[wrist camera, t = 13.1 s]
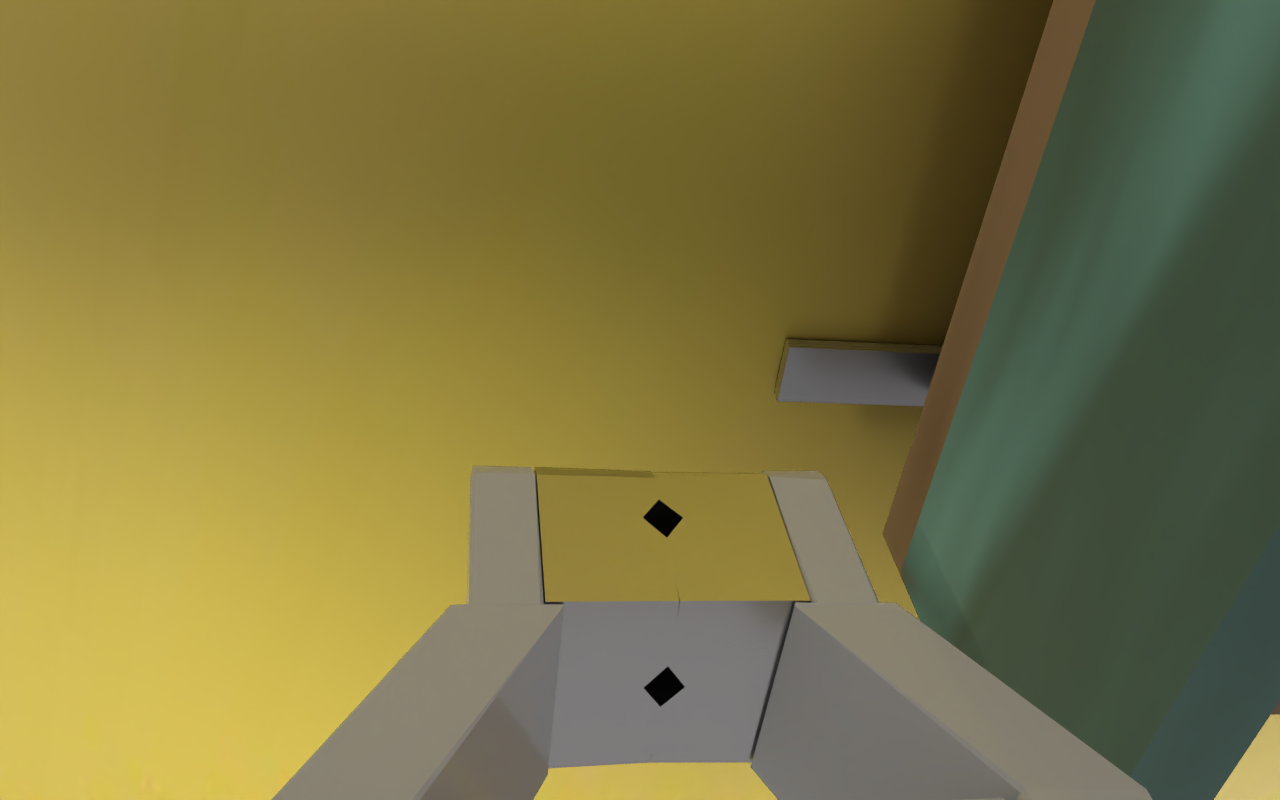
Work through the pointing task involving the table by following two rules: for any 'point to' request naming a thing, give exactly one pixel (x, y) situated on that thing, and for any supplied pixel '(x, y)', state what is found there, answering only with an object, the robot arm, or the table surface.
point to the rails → (856, 372)
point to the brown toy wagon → (1119, 396)
